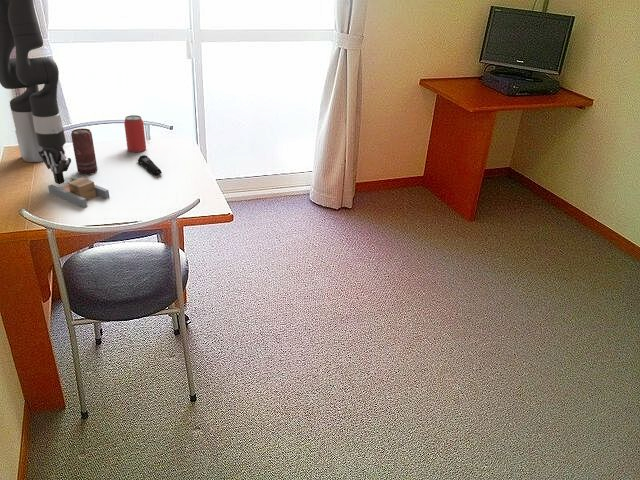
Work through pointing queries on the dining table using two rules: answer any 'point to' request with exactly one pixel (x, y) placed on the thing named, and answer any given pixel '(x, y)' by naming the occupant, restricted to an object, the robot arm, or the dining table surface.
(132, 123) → the beer can
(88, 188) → the block
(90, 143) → the can
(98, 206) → the dining table surface
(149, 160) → the electric trimmer
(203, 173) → the dining table surface
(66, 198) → the channel
